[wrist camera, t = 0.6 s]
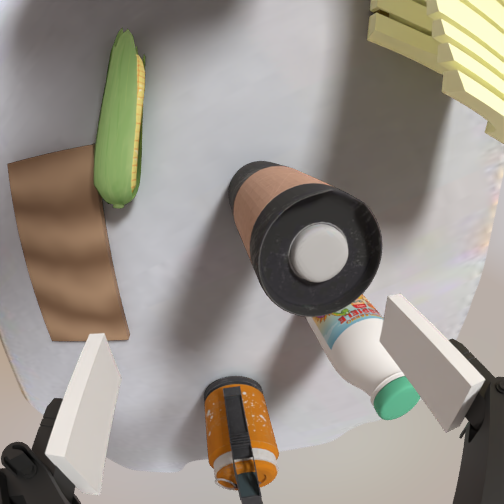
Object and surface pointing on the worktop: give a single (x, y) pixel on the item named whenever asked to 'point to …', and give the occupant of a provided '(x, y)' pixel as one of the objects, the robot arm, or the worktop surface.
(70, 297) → the serving board
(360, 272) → the travel mug
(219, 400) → the canister
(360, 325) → the milk bottle
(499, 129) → the slatted curved stool
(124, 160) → the edible corn
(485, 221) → the worktop surface
